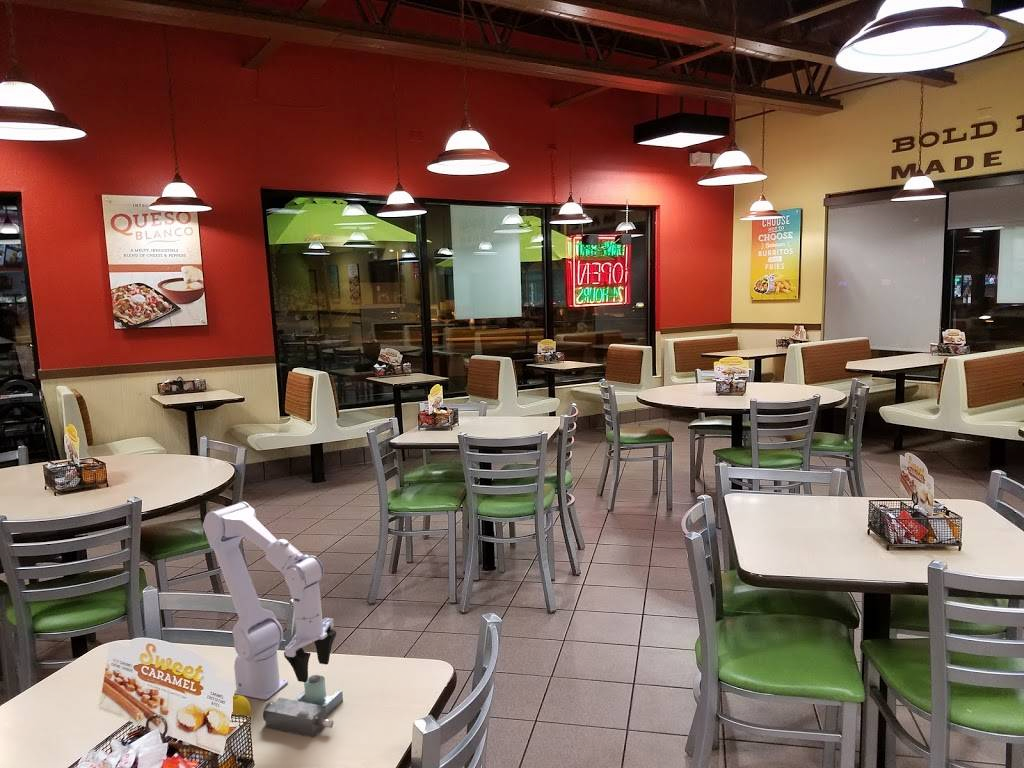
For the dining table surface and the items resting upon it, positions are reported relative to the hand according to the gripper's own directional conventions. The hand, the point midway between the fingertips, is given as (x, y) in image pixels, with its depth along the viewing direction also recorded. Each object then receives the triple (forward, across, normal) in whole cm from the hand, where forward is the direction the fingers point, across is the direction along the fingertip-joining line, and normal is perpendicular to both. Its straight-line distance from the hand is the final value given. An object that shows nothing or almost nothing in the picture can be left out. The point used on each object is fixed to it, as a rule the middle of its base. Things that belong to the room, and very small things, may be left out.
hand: (313, 672), depth 159 cm
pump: (+8, 0, 0) cm, 8 cm away
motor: (+8, -3, -1) cm, 9 cm away
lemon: (+9, -12, +11) cm, 18 cm away
